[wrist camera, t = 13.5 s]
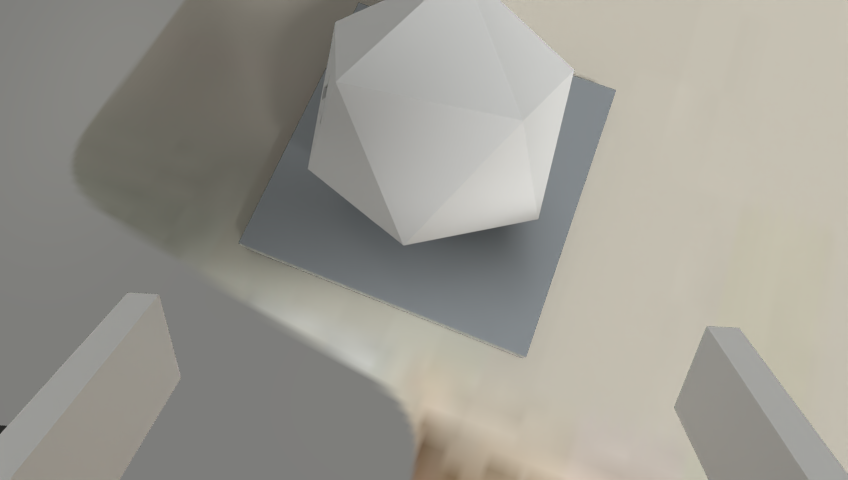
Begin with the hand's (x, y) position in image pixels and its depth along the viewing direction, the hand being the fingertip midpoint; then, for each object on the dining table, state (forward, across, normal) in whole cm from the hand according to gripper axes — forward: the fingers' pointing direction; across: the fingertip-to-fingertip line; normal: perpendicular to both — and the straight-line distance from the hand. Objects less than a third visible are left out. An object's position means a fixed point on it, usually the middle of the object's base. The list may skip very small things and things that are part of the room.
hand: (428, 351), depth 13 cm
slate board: (+11, 0, 0) cm, 11 cm away
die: (+10, 0, -1) cm, 11 cm away
